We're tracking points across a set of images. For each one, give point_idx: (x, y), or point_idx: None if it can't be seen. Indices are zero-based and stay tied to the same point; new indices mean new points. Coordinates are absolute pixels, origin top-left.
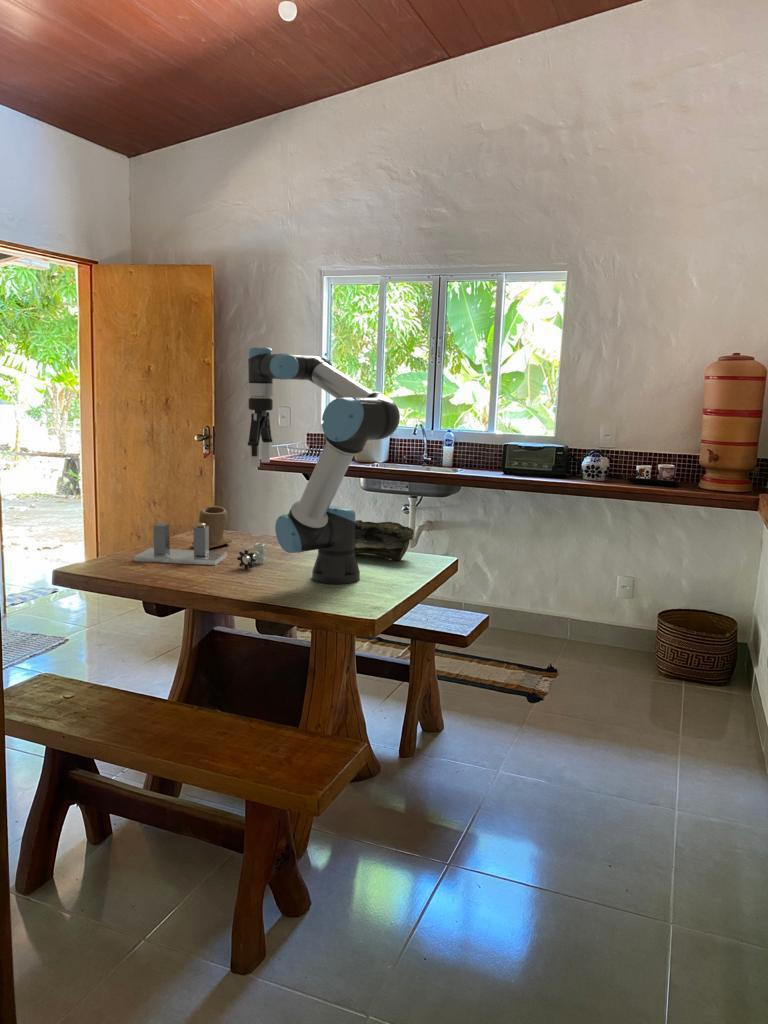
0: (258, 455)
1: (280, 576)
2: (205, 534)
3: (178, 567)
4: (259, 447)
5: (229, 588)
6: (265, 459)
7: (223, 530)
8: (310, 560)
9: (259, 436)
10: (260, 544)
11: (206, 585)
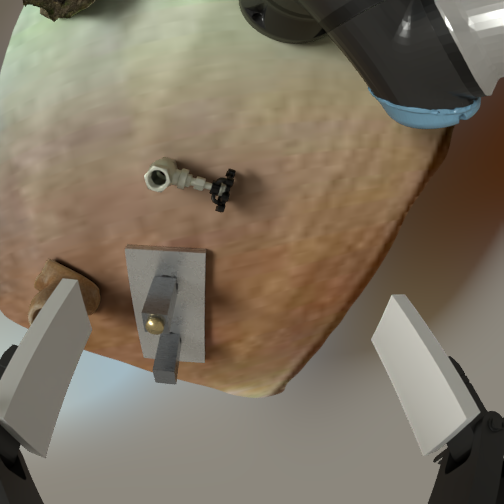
0: (442, 355)
1: (285, 106)
2: (166, 304)
3: (232, 300)
4: (465, 405)
5: (370, 192)
6: (76, 320)
7: (57, 283)
8: (130, 66)
9: (487, 496)
10: (148, 179)
11: (351, 232)
